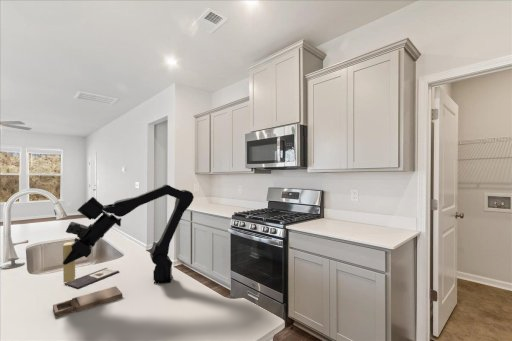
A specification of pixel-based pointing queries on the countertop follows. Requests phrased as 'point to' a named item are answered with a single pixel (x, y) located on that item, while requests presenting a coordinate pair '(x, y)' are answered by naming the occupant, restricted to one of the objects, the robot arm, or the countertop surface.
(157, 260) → the robot arm
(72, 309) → the brown buckle strap
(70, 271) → the stub
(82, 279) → the chocolate bar
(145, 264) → the countertop surface
